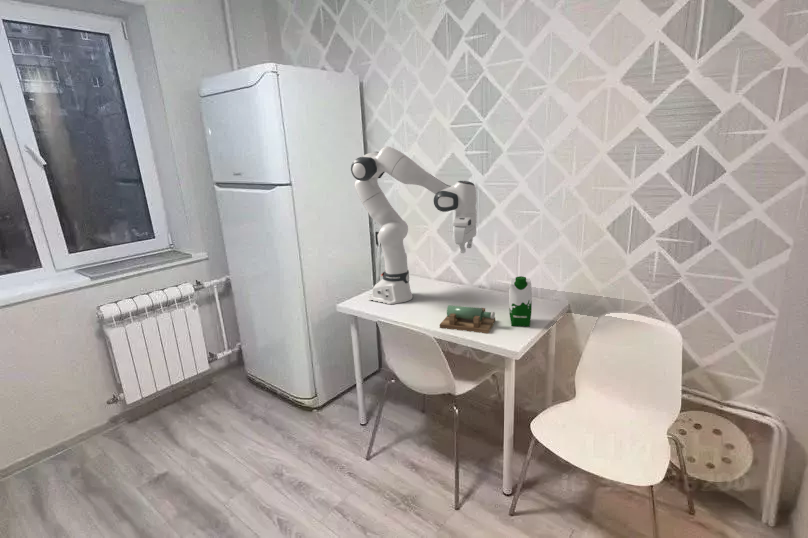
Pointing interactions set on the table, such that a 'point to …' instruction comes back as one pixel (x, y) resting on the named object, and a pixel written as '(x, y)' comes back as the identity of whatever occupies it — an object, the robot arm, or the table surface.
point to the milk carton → (520, 301)
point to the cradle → (468, 323)
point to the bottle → (468, 312)
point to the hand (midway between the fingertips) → (466, 250)
